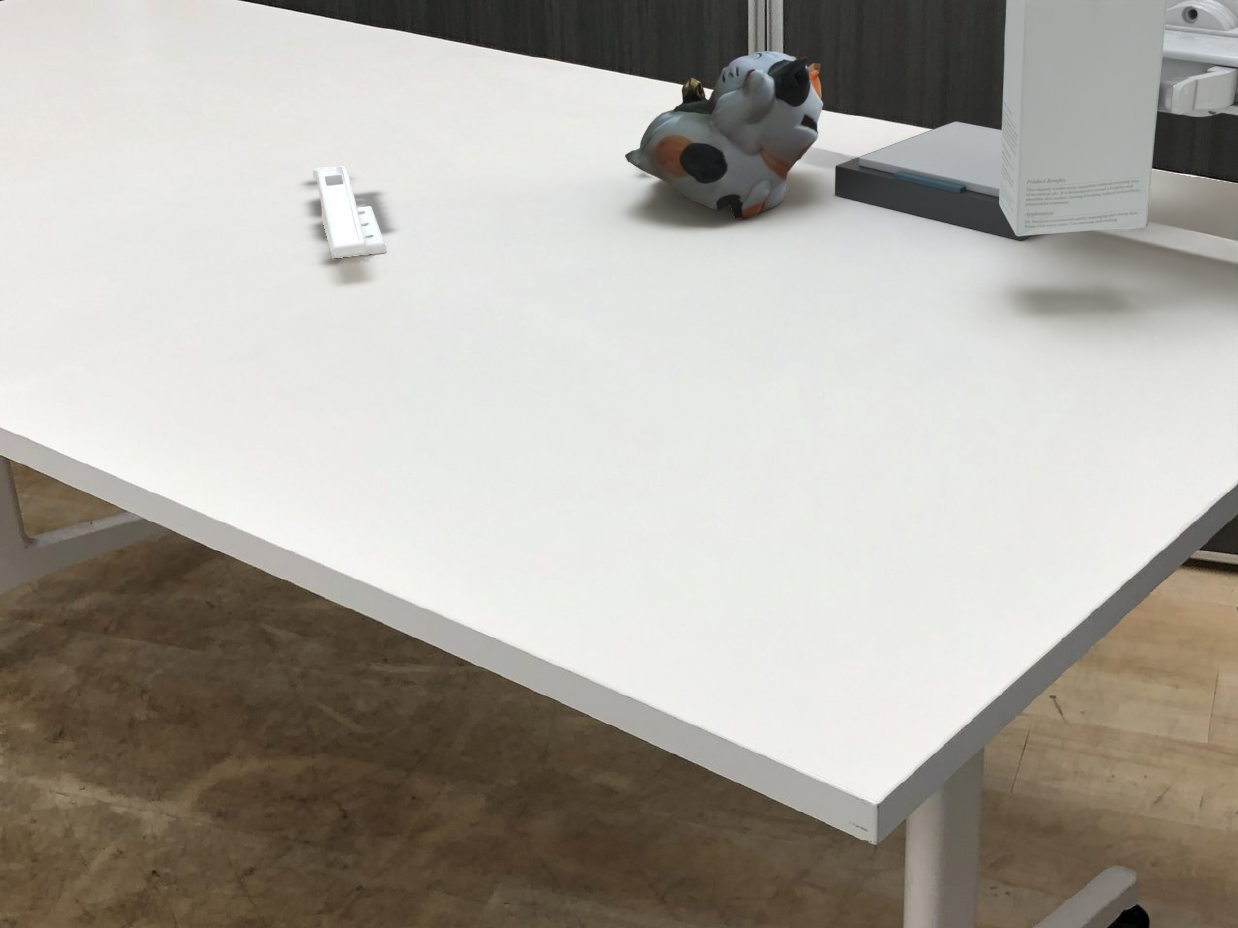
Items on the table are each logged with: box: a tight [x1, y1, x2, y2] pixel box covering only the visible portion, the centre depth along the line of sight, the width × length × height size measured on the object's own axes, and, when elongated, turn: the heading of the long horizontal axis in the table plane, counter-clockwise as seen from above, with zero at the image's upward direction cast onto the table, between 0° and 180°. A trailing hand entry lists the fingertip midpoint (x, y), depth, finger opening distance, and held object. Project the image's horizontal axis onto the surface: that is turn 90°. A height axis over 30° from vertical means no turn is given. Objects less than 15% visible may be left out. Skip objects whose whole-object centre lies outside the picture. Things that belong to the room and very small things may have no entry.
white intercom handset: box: [312, 164, 387, 259], centre depth 109 cm, size 4×20×6 cm, turn 15°
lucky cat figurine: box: [624, 50, 824, 220], centre depth 112 cm, size 15×12×14 cm
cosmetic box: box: [999, 0, 1168, 236], centre depth 87 cm, size 8×6×15 cm
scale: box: [834, 121, 1033, 242], centre depth 112 cm, size 17×15×3 cm
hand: (1100, 89), depth 87 cm, fingers closed on cosmetic box, 7 cm apart
